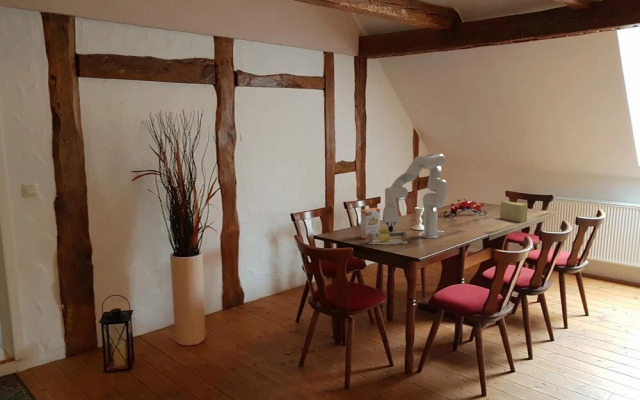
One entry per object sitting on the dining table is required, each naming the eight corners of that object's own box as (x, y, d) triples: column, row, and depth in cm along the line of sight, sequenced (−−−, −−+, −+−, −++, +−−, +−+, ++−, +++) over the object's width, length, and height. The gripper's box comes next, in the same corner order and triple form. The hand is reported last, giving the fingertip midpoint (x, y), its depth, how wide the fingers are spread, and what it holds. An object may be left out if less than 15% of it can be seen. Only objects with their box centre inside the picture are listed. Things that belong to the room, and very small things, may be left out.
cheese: (496, 218, 408) (497, 201, 405) (504, 217, 413) (504, 200, 411) (520, 223, 389) (520, 204, 387) (527, 221, 395) (528, 203, 392)
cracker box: (366, 239, 346) (365, 210, 343) (360, 238, 351) (360, 209, 348) (380, 236, 354) (380, 208, 351) (374, 235, 359) (374, 207, 356)
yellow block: (386, 238, 339) (386, 227, 338) (389, 240, 332) (389, 230, 331) (378, 239, 338) (378, 228, 337) (380, 241, 332) (380, 230, 330)
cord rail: (403, 240, 342) (403, 229, 340) (407, 243, 333) (407, 232, 332) (367, 241, 339) (367, 231, 338) (370, 245, 330) (370, 234, 329)
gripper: (399, 204, 336) (399, 230, 339) (378, 205, 335) (378, 231, 338) (402, 206, 329) (402, 232, 332) (381, 207, 327) (381, 233, 330)
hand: (390, 231), depth 335 cm, fingers closed
